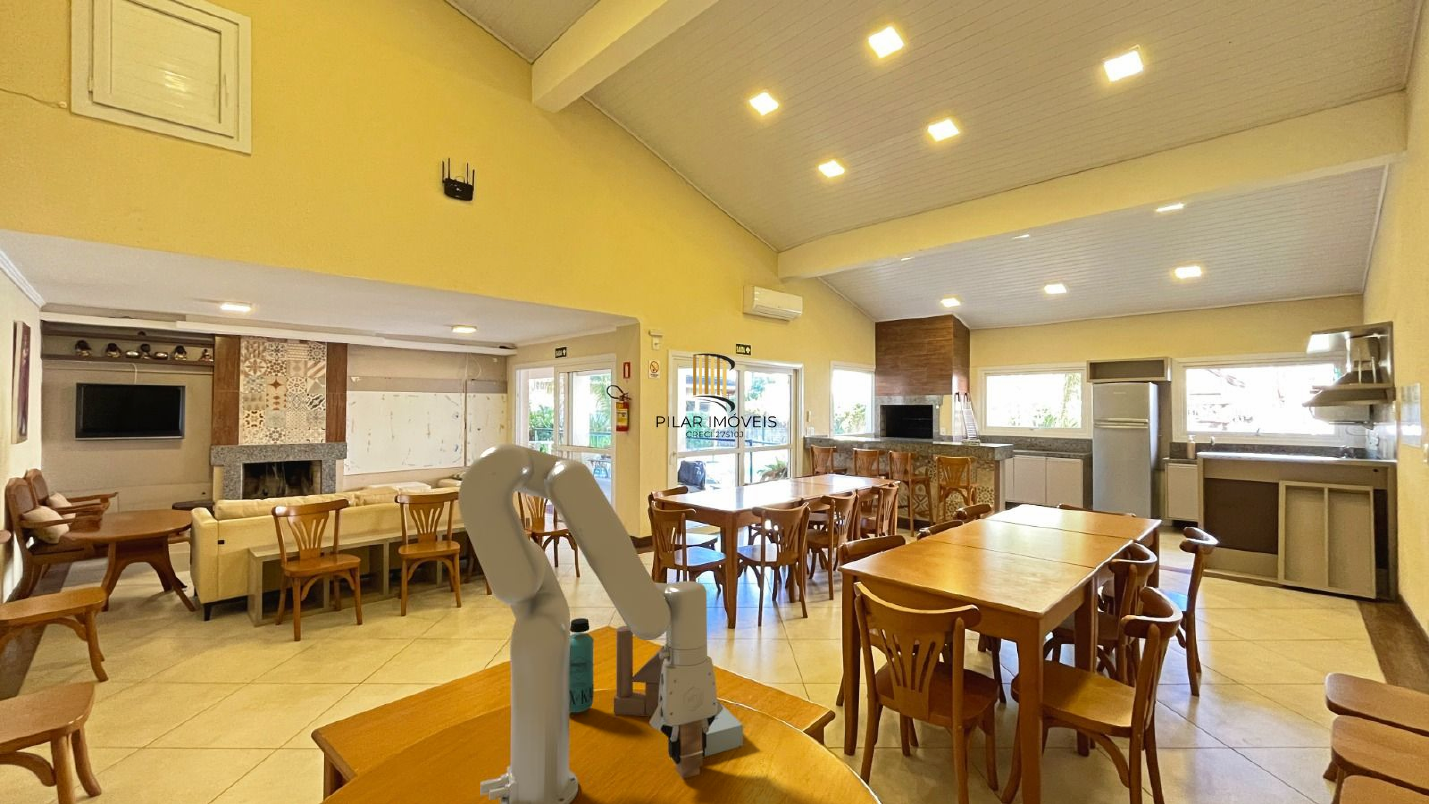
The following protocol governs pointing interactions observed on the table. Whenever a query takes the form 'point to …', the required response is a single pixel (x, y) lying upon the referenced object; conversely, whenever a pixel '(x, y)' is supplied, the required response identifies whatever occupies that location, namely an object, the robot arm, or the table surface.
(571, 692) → the beverage bottle
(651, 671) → the wooden block structure
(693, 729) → the peg
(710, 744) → the grey square-hole block
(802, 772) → the table surface
